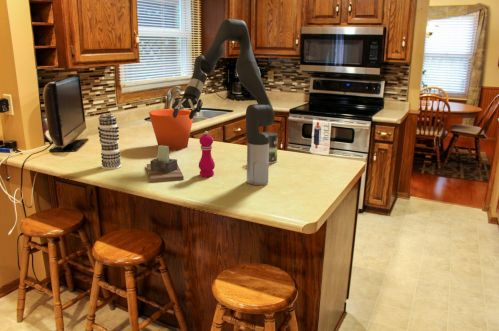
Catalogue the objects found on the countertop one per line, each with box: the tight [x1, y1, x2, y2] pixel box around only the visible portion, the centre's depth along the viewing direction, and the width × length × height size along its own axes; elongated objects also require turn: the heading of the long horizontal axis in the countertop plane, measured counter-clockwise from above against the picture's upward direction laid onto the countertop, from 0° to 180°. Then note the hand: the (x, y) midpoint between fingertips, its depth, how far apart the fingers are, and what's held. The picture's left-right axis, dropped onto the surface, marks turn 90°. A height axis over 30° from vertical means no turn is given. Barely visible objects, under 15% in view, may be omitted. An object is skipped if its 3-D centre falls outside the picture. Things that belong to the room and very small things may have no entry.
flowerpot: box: [148, 108, 194, 151], centre depth 237 cm, size 25×25×20 cm
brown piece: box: [146, 157, 185, 183], centre depth 190 cm, size 14×24×6 cm, turn 17°
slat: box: [157, 145, 170, 162], centre depth 189 cm, size 4×2×11 cm, turn 68°
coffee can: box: [259, 131, 279, 165], centre depth 211 cm, size 10×10×14 cm
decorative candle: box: [97, 113, 122, 170], centre depth 196 cm, size 9×9×25 cm
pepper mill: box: [198, 130, 216, 178], centre depth 186 cm, size 7×7×20 cm
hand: (182, 117), depth 196 cm, fingers open, 8 cm apart
